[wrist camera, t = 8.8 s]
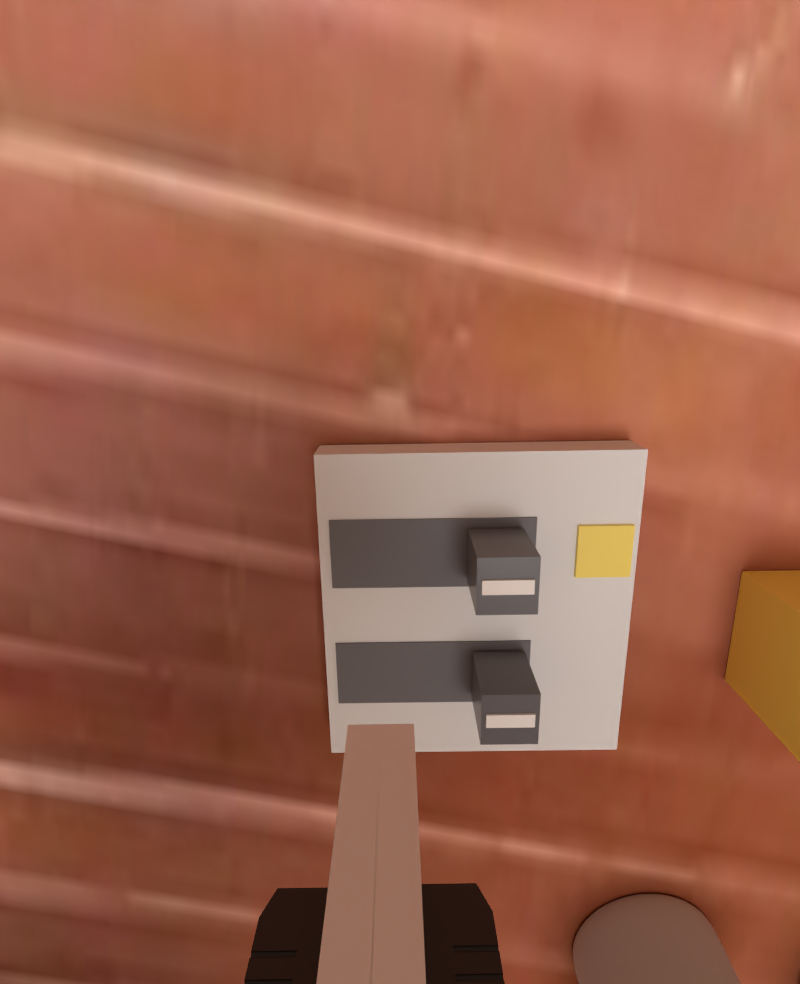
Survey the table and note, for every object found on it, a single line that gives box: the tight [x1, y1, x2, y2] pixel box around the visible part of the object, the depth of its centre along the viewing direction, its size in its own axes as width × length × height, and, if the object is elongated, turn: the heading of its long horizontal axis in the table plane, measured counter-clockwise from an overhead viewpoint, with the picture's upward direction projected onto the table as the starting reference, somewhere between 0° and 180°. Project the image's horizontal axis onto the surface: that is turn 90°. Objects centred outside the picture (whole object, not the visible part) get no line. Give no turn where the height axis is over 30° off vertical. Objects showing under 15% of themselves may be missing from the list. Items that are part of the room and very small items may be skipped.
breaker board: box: [314, 440, 648, 753], centre depth 27 cm, size 14×15×2 cm
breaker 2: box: [472, 651, 541, 745], centre depth 25 cm, size 2×2×3 cm
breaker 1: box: [467, 528, 541, 615], centre depth 24 cm, size 2×2×3 cm
